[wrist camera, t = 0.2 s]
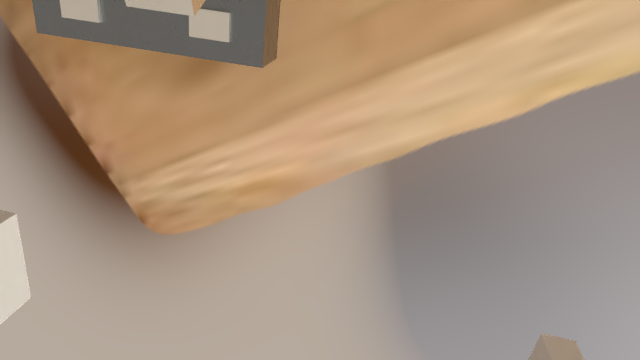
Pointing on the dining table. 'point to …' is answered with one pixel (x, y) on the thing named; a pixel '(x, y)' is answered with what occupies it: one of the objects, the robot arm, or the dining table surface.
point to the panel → (170, 26)
